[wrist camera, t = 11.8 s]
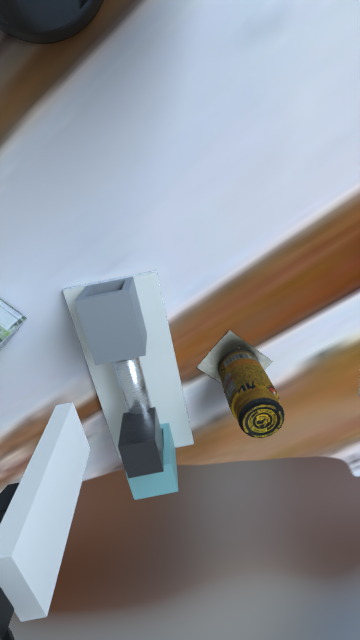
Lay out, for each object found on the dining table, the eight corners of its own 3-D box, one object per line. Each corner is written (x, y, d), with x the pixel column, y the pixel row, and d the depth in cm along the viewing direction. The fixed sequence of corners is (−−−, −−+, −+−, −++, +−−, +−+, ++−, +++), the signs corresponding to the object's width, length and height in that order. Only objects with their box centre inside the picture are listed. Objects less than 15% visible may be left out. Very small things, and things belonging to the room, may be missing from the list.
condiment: (239, 395, 49) (263, 454, 38) (196, 366, 47) (208, 420, 36) (272, 360, 48) (307, 412, 36) (229, 329, 45) (252, 374, 34)
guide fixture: (64, 288, 42) (41, 312, 33) (156, 270, 41) (156, 289, 33) (119, 453, 52) (112, 504, 44) (193, 439, 52) (200, 487, 44)
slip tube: (101, 324, 41) (88, 357, 33) (135, 317, 41) (130, 349, 33) (140, 454, 50) (137, 507, 41) (169, 449, 49) (171, 500, 41)
